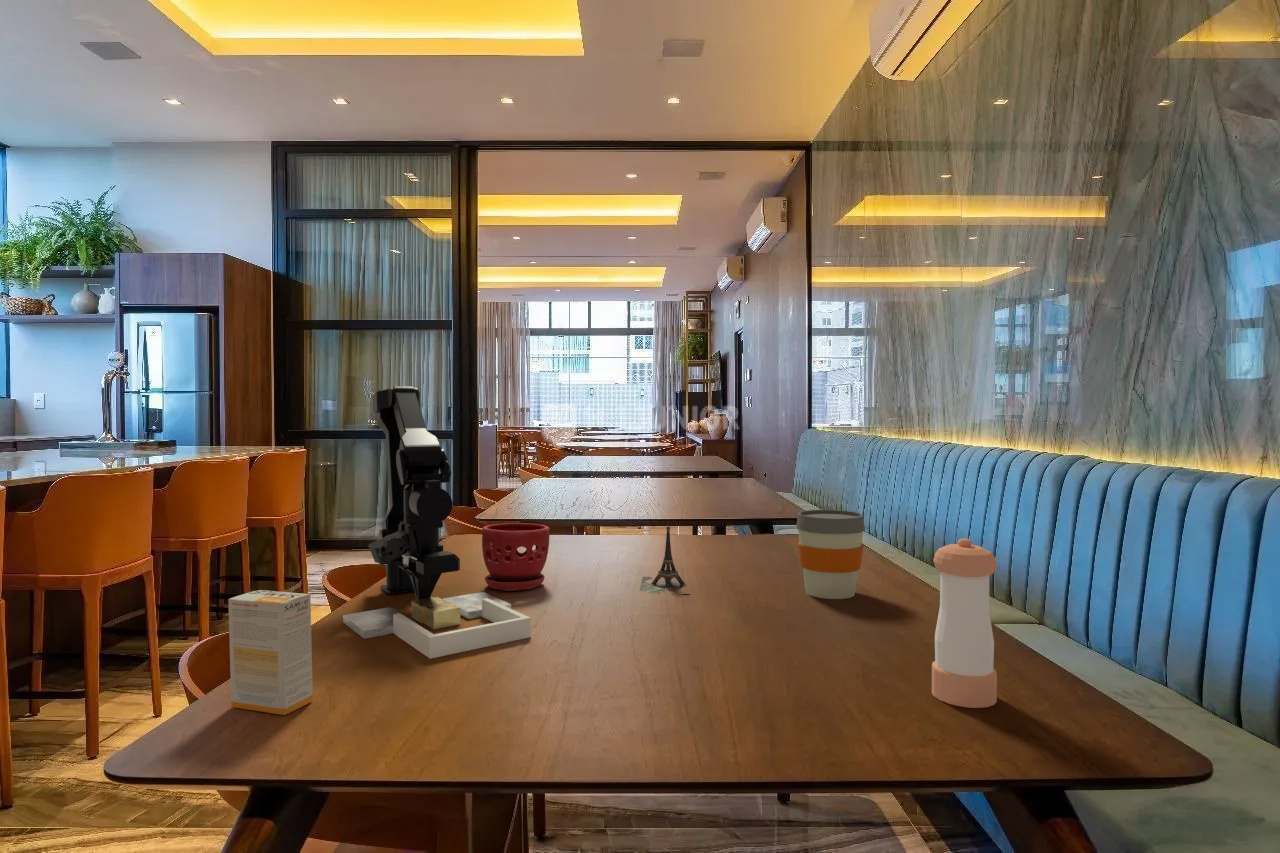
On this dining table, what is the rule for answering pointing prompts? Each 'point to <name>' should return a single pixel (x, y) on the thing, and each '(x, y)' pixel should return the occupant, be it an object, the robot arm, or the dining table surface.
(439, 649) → the tray
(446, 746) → the dining table surface
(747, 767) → the dining table surface
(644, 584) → the eiffel tower figurine
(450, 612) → the beige wooden block
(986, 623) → the salt shaker
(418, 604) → the tan block
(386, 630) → the plate
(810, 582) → the reusable coffee cup
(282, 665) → the supplement box
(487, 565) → the plant pot
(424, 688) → the dining table surface
